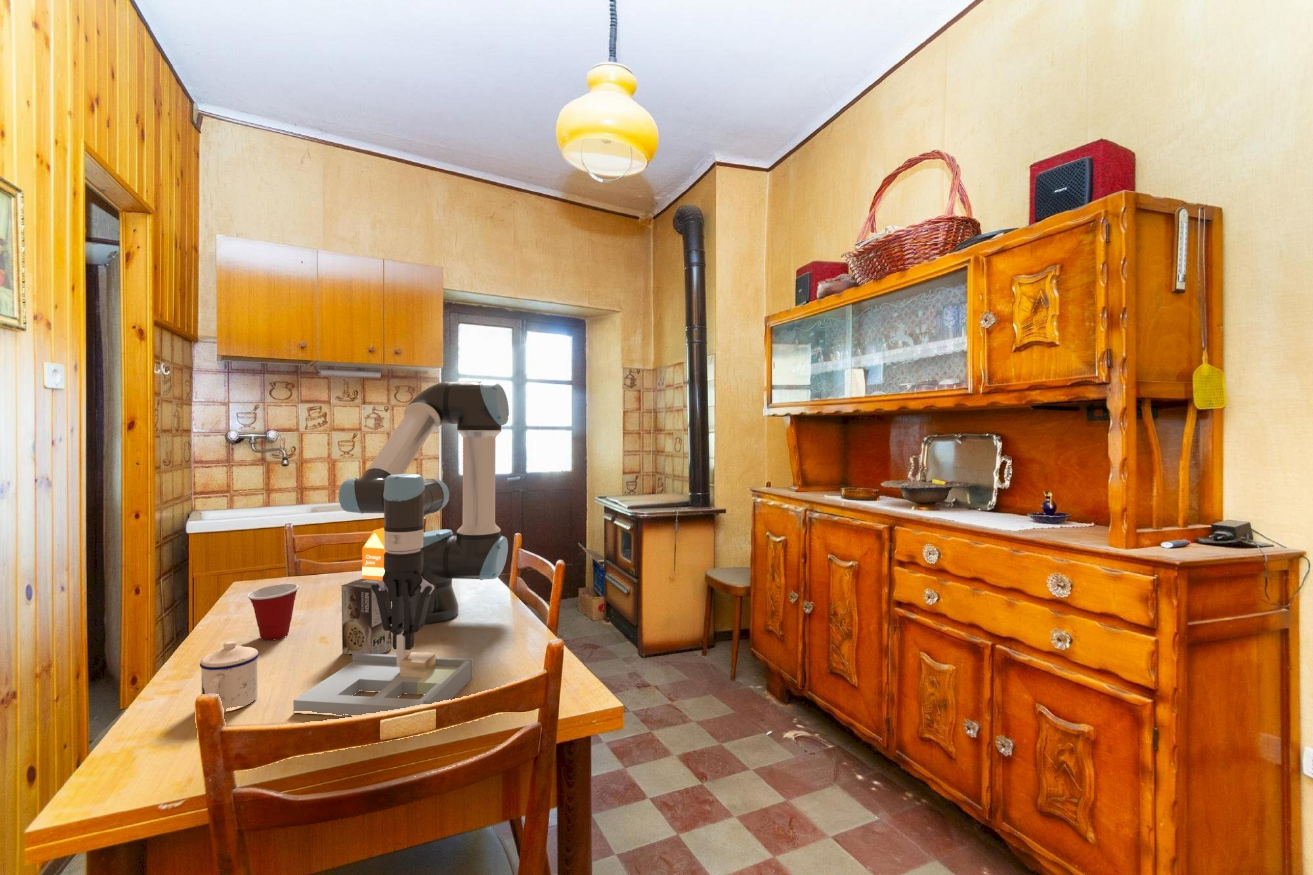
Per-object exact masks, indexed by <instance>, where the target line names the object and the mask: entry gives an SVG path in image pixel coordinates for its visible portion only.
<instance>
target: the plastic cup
mask: <svg viewBox="0 0 1313 875" xmlns="http://www.w3.org/2000/svg"><path fill="white" fill-rule="evenodd" d="M298 589H299V584H296V583H289V582H288V583H278V584H271V585H267V586H263V587H260V588H259V587H258V588H257V589H254V590H252V591H250V592H248V594H246V596H247V599H249V600H250V602H251V605H252V608H253V611H254V615H255V620H256V625H257V628H258V631H259V637H260V639H263V640H262V641H266V640H270V641H275V640H274V639H277V640H280V638H281V639H283V638H282V637H284V638H286V637H288V636H289V633H290V629H291V628H290V627H291V622H292V616H293V612H294V605H295V600H296V596H297V592H298ZM285 636H286V637H285Z"/></svg>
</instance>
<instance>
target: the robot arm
mask: <svg viewBox="0 0 1313 875" xmlns="http://www.w3.org/2000/svg"><path fill="white" fill-rule="evenodd" d="M509 411H510V409H509V401H508V397H507V395H506V391H505V389H504V388H503V386H502V385H501V384H500V383H497V382H492V381H484V380H483V381H443V382H438V383H435V384H432V385H430V386H429V387H427V388H425V389H424V390H422V391H420V393H418V394H417V395H416V396H415V397H413V399H412V400H411V401H409V403H408V404H407V406H406V407H405V408H404V411H403V418H402V420H401V421H400V422H399V423H398V425H397V427H396V428H395V430H394V431H393V432H392V433H391V435H390V437H389V438H388V439H387V440H386V442H385V443H384V445H383V446H382V448H381V449H380V450H379V452H378V453H377V454H376V456H375V458H374V459H373V460H372V462H371V463H370V464H369V466H368V467H367V468H366V470H365V472H364V473H363V474H362V476H361V477H359V478H357V477H354V478H348V479H346V480H344V481H343V482H342V483H341V484H340V487H339V490H338V498H337V499H338V503H339V505H340V508H341V509H342V510H343V511H345V512H346V513H347V512H348V513H356V514H383V522H384V526H383V528H384V549H385V550H386V552H385V553H384V570H385V573H384V575H383V578H382V580H381V581H379V582H377V583H375V584H373V585H372V586H371V588H372V590H373V592H374V593H375V595H376V598H377V603H378V607H379V612H380V616H381V621H382V625H383V629H384V630H385V631H390V632H391V635H392V649H393V650H396V655H397V665H396V667H400V661H401V660H403V659H404V658H405V657H407V656H408V655H409V654H411V650H412V649H413V648H414V647H415V633H417V632H419V631H420V630H422V629H423V628H424V626H425V624H434V623H439V622H444V621H448V620H450V619H452V618H455V617H456V616H458V614H459V603H458V602H459V601H458V600H457V597H456V593H455V591H454V588H453V579H456V580H457V579H458V580H479V581H483V580H494V579H497V578H499V576H500V575H501V574H502V572H503V570H504V567H505V565H506V562H507V557H508V551H509V543H508V539H507V537H506V536H504V535H502V534H501V532H502V530H501V528H500V526H498V525H497V524H496V439H497V436H499V435H500V433H501V432H502V426H504V425H506V424H507V423H508V421H509V414H510V412H509ZM449 424H450V425H456V430H457V431H456V432H458V433H459V435H461V437H462V524H461V526H460V527H458V529H457V530H456V535H453V534H454V533H453V530H451V529H435V530H430V531H429V530H428V531H425V532H424V527H425V526H424V522H425V521H424V520H425V518H424V516H426V515H430V514H435V513H437V512H438V511H441V510H442V509H444V507H446V506H447V504H448V502H449V500H450V491H449V488H448V486H447V484H446V483H445V482H444V481H443V480H441V479H437V478H425V479H424V478H423V475H421V474H418V473H417V474H416V473H407V471H408V469H409V468H410V466H411V465H412V463H413V461H414V460H415V458H416V457H417V455H418V453H419V452H420V451H421V449H422V447H423V446H424V444H425V443H426V441H427V439H428V438H429V436H430V435H431V434H432V433H434V432H436V431H437V430H438V429H439V428H440V426H442V425H449ZM387 588H388V589H389V591H390V592H391V596H390V599H391V603H390V599H389V594H388V591H387Z"/></svg>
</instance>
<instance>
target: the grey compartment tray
mask: <svg viewBox="0 0 1313 875" xmlns="http://www.w3.org/2000/svg"><path fill="white" fill-rule="evenodd" d="M351 656H352V661H351V662H350V663H348V664H347V665H345V666H343V667H342V668H341V669H340V670H337V671H336V672H335V673H333V674H331V675H330V676H328V677H327V678H325V679H324V680H322V681H320V682H318V684H316V685H314V686H313V687H311V688H309V689H308V690H307V691H305V692H303V693H302V694H301V695H299V696H298V697H296V698H295V699H293V703H292V704H293V712H294V711H312V712H317V713H332V714H336V715H342V716H338V717H341V718H342V717H343V718H349V717H348V716H351V715H362V714H366V713H376V712H380V711H388V710H394V709H400V708H406V707H410V706H415V705H420V704H432V703H434V702H440V701H443V700H449V699H452V700H453V699H454V698H455V697H456V696H457V694H458V693H460V692H461V690H462V689H463V688H465V686H466V685H467V684H468V683H469V682H470V681H471V680H473V669H474V668H473V663H474V662H473V658H460V657H446V656H445V657H441V656H435V668H434V669H433V670H432V671H431V672H430V673H429V674H427V675H426V676H425V677H424V678H420V677H403V676H400V667H396V665H397V654H385V653H382V654H367V653H354V654H353V655H351ZM359 690H362V691H380V692H378V693H375V695H374V696H366V695H365V696H364V695H360V696H359V695H356V694H355V693H357V692H358V691H359ZM358 693H359V692H358ZM358 693H357V694H358ZM402 693H407V694H406V695H410V694H425V695H422V696H421V698H419V699H417V698H416V699H415V698H414V699H413V698H400V697H401V696H402V695H403V694H402ZM354 694H355V695H354ZM401 694H402V695H401ZM352 695H354V696H352ZM400 695H401V696H400ZM398 696H400V697H399V698H397V697H398ZM343 714H344V715H343ZM345 714H348V715H345Z"/></svg>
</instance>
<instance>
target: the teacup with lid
mask: <svg viewBox="0 0 1313 875" xmlns="http://www.w3.org/2000/svg"><path fill="white" fill-rule="evenodd" d="M259 655H260V653H259V651H258V650H257V649H256V648H254V647H251V646H243V645H240V644H239V645H238V644H237V642H236V641H235V640H229V641H225V642H224V643H223V647H221V648H219V649H218V650H216V651H214V652H211V653H209V654H207V655H205V656H204V657H203V658H202V659H201V660H200V663H199V666H200V668H201V695H202V694H208V693H215V694H219V696H220V698H221V701H222V706H223V708H224V713H226V714H227V712H226V709H227V708H230V707H231V708H232V707H237V706H245V705H247V704H250V703H251V702H253V701H254V700H255V701H256V700H257V699H256V698H258V696H259V695H258V658H259ZM255 701H254V702H255ZM254 702H253V703H254ZM251 704H252V703H251ZM251 704H250V705H251ZM224 713H223V714H224Z"/></svg>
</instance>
